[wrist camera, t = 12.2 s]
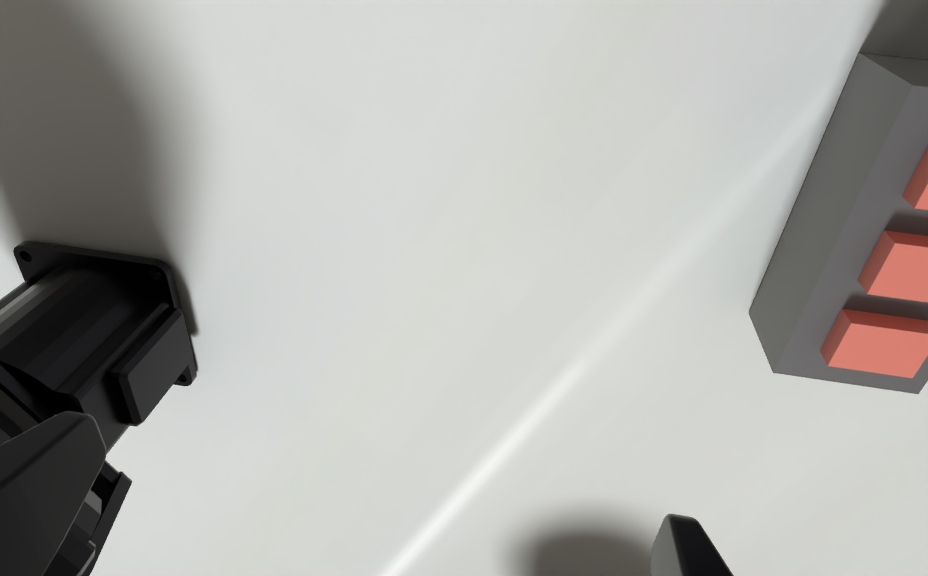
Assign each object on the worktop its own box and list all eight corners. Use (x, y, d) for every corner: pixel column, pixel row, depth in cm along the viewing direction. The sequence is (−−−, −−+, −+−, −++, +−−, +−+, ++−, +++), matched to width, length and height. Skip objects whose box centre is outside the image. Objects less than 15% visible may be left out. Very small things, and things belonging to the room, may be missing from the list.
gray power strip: (875, 330, 22) (929, 410, 18) (748, 313, 22) (779, 388, 19) (1027, 71, 16) (1138, 117, 13) (858, 53, 17) (927, 94, 14)
